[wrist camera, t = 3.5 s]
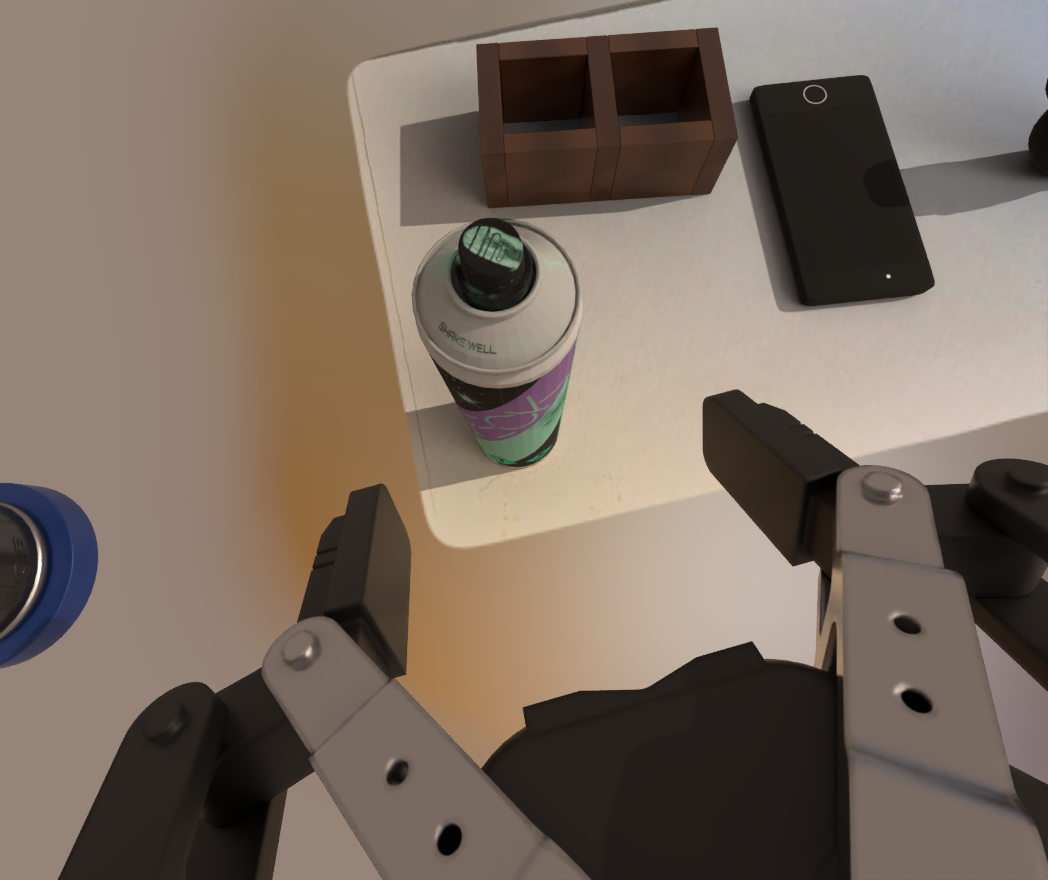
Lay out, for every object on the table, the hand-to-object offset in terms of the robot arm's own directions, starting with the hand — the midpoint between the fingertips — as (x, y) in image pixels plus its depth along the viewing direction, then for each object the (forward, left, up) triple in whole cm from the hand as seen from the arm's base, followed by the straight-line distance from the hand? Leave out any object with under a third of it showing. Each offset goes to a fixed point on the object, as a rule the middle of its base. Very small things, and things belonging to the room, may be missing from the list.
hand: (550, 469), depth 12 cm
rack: (+6, +27, -19) cm, 34 cm away
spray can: (-1, +6, -19) cm, 20 cm away
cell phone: (+23, +22, -19) cm, 37 cm away
